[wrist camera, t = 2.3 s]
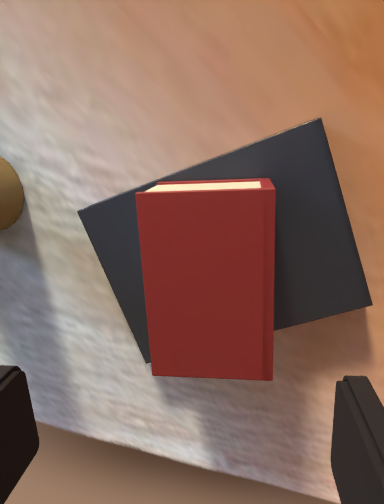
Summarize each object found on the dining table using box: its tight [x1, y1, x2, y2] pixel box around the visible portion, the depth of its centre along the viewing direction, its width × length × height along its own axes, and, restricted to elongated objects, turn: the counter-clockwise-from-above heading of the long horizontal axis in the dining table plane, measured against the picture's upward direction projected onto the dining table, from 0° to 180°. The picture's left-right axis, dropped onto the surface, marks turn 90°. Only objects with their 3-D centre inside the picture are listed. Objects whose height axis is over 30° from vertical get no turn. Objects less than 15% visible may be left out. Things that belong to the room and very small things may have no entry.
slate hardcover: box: [77, 118, 373, 364], centre depth 25 cm, size 16×12×2 cm
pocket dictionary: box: [135, 178, 276, 381], centre depth 21 cm, size 7×10×5 cm, turn 3°
